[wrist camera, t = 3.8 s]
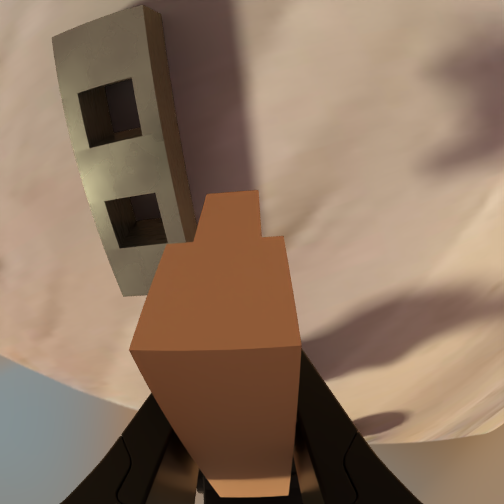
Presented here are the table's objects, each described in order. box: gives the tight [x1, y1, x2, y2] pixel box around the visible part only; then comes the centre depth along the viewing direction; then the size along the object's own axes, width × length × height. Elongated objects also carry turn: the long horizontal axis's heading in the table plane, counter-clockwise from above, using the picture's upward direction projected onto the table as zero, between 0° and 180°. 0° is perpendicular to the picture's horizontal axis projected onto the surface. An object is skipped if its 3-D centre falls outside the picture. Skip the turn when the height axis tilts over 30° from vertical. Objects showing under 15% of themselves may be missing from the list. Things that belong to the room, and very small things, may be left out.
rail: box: [52, 5, 197, 297], centre depth 17 cm, size 16×5×3 cm, turn 6°
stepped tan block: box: [129, 190, 301, 497], centre depth 8 cm, size 8×2×6 cm, turn 4°
